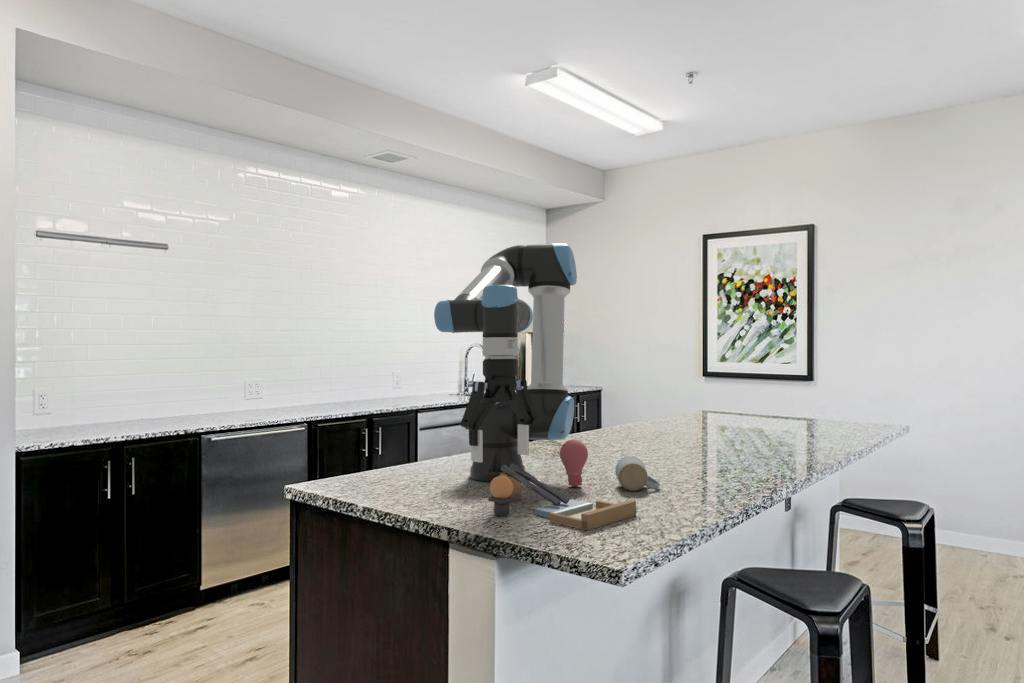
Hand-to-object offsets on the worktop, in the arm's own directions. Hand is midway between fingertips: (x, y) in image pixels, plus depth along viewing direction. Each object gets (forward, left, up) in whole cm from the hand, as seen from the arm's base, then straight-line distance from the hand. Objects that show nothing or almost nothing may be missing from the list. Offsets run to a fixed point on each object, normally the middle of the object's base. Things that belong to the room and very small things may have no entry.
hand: (500, 458), depth 143 cm
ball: (0, 0, -6) cm, 6 cm away
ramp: (-1, +11, -12) cm, 17 cm away
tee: (0, 0, -12) cm, 12 cm away
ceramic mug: (+5, +42, -12) cm, 44 cm away
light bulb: (-7, +32, -12) cm, 35 cm away
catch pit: (+16, +11, -12) cm, 23 cm away
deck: (+8, +11, -12) cm, 18 cm away
